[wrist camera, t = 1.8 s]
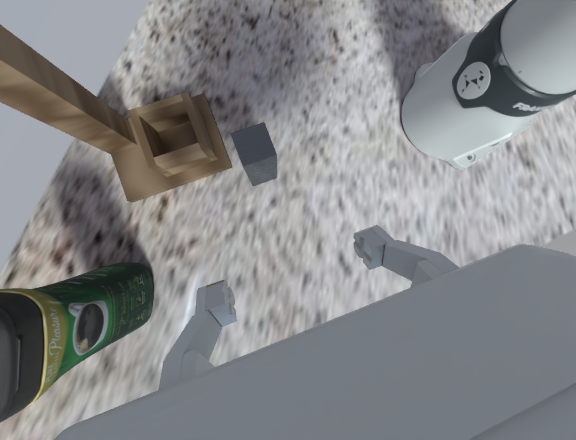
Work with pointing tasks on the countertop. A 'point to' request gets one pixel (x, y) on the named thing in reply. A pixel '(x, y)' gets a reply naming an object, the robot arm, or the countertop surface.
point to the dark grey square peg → (256, 153)
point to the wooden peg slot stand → (117, 123)
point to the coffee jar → (65, 327)
